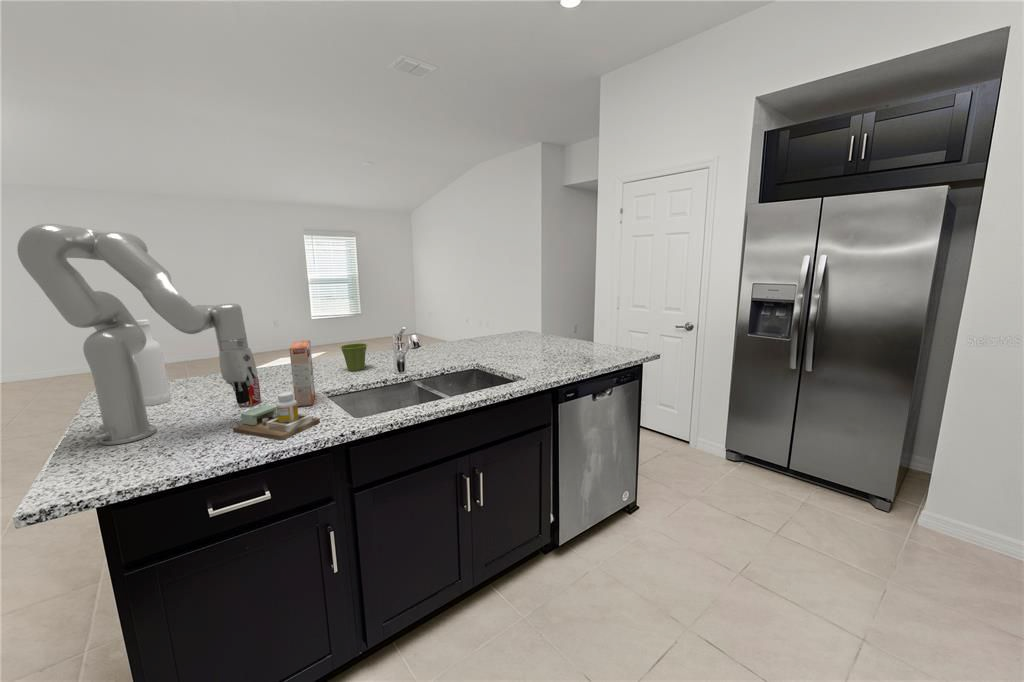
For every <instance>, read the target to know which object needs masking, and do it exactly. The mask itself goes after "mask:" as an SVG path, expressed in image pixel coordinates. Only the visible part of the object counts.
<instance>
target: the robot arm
mask: <svg viewBox="0 0 1024 682" xmlns="http://www.w3.org/2000/svg"><path fill="white" fill-rule="evenodd" d="M16 248H17V249H16V250H17V256H18V259H19V261H20V263H21V265H22V267H23V268H24V269H25V271H26V272H27V273H28V275H29V276H30V277H31V278H32V279H33V280H34V281H35V283H36V284H37V285H38V286H39V288H40V289H41V290H42V292H43V294H44V295H45V296H46V297H47V298H48V299H49V301H50V302H51V303H52V305H53V306H54V307H55V308H56V310H57V311H58V313H60V315H61V316H62V317H63V319H64V320H65V321H66V322H67V323H68V324H70V325H71V326H72V327H75V328H80V329H86V328H94V329H95V331H94V332H92V333H91V334H89V335H88V337H87V338H86V339H85V341H84V342H83V346H82V348H83V350H82V351H83V355H84V357H85V360H86V362H87V364H88V366H89V369H90V372H91V375H92V380H93V384H94V388H95V392H96V397H97V402H98V406H99V407H98V408H99V411H100V415H101V421H102V425H100V426H98V429H96V430H95V432H91V433H86V434H83V435H81V440H82V442H84V443H87V442H90V441H91V442H92V441H93V440H94V441H98V443H99V444H100V445H104V446H106V445H107V446H115V445H121V444H128V443H132V442H135V441H139V440H142V439H145V438H147V437H150V436H152V435H153V434H155V433H156V432H157V431H158V429H157V428H158V427H157V426H156V425H154V424H151V423H150V422H149V418H148V413H147V406H145V401H144V396H143V390H142V385H141V380H140V375H139V371H138V368H137V366H136V364H135V360H134V355H135V354H137V353H139V352H140V351H142V350H143V349H144V347H145V345H146V336H145V334H144V332H143V330H142V329H141V327H140V326H139V324H138V323H137V322H136V319H135V318H134V317H133V315H132V314H131V311H129V310H128V308H127V307H126V306H125V304H124V303H123V302H122V301H121V300H120V299H119V298H118V297H117V296H115V295H113V294H111V293H109V292H107V291H101V290H97V291H96V290H94V289H93V288H92V287H91V285H89V283H88V282H87V281H86V280H85V278H84V277H83V275H82V274H81V273H80V272H79V270H77V269H76V268H75V267H74V266H73V265H71V264H70V263H69V262H68V259H86V260H95V261H96V260H97V261H104V262H105V263H106V264H108V266H110V268H112V269H113V270H114V271H116V272H117V273H118V274H119V275H121V276H122V277H123V278H124V279H126V281H128V282H129V283H130V284H131V285H132V286H134V287H135V288H136V290H138V291H139V292H140V293H141V294H142V295H141V296H142V297H143V299H145V301H146V302H147V303H148V304H149V306H150V307H151V308H152V309H153V311H155V313H157V315H159V316H160V317H161V318H162V319H163V320H164V321H166V322H167V323H168V324H170V326H172V327H173V328H175V329H176V330H177V331H179V332H181V333H183V334H187V335H196V334H200V333H201V332H204V331H206V330H209V329H213V328H214V332H215V336H216V342H217V346H218V353H219V354H218V355H219V366H220V373H221V376H222V379H223V380H224V381H225V382H226V384H228V385H230V386H231V387H232V390H233V391H234V394H235V399H236V404H238V405H239V404H243V403H246V402H248V401H250V396H249V391H248V389H249V386H250V385H253V384H254V380H253V379H256V378H257V377H258V378H259V376H258V375H259V374H258V370H257V365H256V361H255V359H254V358H255V357H254V356H253V352H252V350H251V349H250V347H249V343H248V338H247V332H246V327H245V321H244V316H243V315H244V314H243V310H242V307H241V305H240V304H238V303H222V304H216V305H207V304H197V305H192V304H191V303H190V302H189V301H188V300H186V299H185V298H184V297H183V296H182V295H181V294H180V293H179V292H178V290H177V289H176V288H175V286H174V284H173V282H172V276H171V274H170V272H169V271H168V270H167V269H166V268H165V267H164V266H162V265H161V264H160V263H159V262H157V260H156V259H154V258H153V257H152V256H151V255H150V254H149V253H148V251H149V250H148V247H147V244H146V243H145V241H144V240H142V239H141V238H140V237H138V236H137V235H135V234H133V233H128V232H127V233H126V232H119V231H106V230H101V229H100V230H99V229H92V228H85V227H78V226H72V225H71V226H69V225H65V224H56V223H42V224H41V223H40V224H37V225H34V226H32V227H30V228H28V229H27V230H26V231H25V232H23V234H22V235H21V236H20V238H19V240H18V244H17V247H16ZM149 423H150V424H149Z"/></svg>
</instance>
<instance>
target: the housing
mask: <svg viewBox="0 0 1024 682" xmlns="http://www.w3.org/2000/svg"><path fill="white" fill-rule="evenodd" d="M273 414H277V408H276V405H275V406H273V405H267V404H264V405H260V406H258V407H255V408H253V409H250V410H247V411H244V412H242V413H240V418H241V425H242V424H248V425H257V419H258V418H261V417H263V416H270V417H273Z"/></svg>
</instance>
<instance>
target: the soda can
mask: <svg viewBox="0 0 1024 682" xmlns="http://www.w3.org/2000/svg"><path fill="white" fill-rule="evenodd" d="M253 380H254V384H253V385H250V386H249V389H248V391H249V396H250V401H248V402H246V403H243V404H238V405H239V406H241V407H253V406H256V405H258V403H260V402H261V399H262V398H261V395H262V394H261V388H260V380H259V376H258V377H257V378H256V379H253Z"/></svg>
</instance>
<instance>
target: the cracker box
mask: <svg viewBox="0 0 1024 682" xmlns="http://www.w3.org/2000/svg"><path fill="white" fill-rule="evenodd" d="M312 355H313V354H312V347H311V341H310V340H308V339H307V340H298V341H297V340H296V341H293V342H292V344H291V345H290V346H289V358H290V366H291V375H292V376H291V377H292V384H293V385H292V386H293V398H294V399H295V400H296V402H297V408H298V407H306V406H307V407H308V406H313V405H314V401H315V396H316V391H315V379H314V367H313V366H314V365H313V357H312Z"/></svg>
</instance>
